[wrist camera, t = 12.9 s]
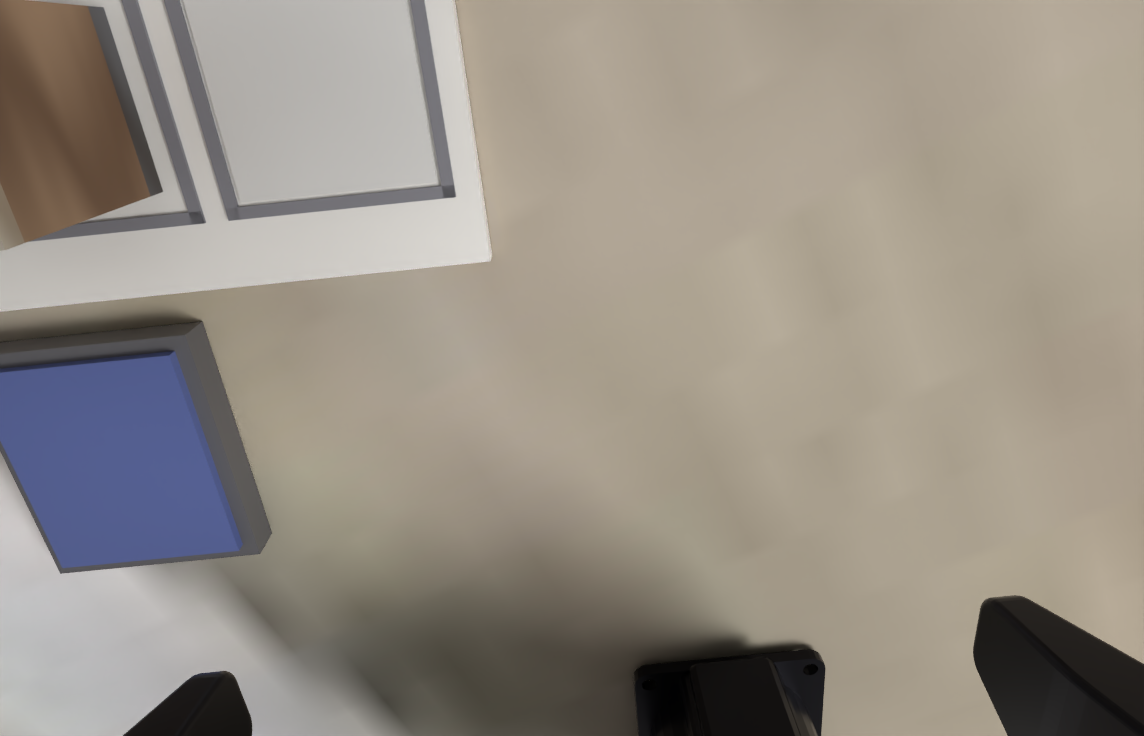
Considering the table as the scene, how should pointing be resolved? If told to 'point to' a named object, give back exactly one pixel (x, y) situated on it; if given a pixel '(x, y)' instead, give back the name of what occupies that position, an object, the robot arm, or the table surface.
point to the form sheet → (277, 152)
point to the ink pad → (128, 448)
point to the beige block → (65, 122)
